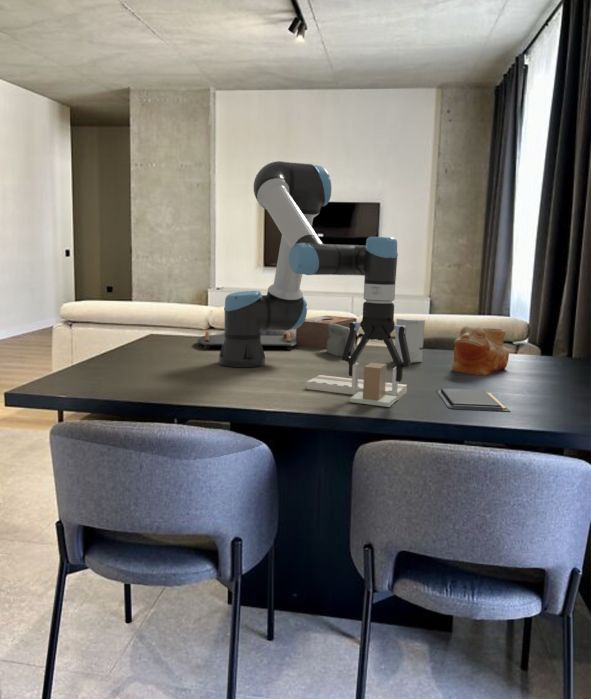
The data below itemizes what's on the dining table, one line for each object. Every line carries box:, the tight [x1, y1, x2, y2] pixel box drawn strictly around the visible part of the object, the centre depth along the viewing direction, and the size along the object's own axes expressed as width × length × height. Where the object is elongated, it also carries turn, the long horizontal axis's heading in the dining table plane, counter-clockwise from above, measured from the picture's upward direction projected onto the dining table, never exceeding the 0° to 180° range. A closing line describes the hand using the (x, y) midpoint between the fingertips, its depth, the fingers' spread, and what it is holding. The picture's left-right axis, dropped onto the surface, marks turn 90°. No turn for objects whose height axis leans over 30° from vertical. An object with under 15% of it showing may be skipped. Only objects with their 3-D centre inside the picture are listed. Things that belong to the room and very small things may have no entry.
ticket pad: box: [305, 374, 408, 401], centre depth 158 cm, size 25×10×2 cm, turn 67°
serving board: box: [196, 329, 297, 351], centre depth 228 cm, size 39×23×6 cm, turn 98°
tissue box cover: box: [295, 315, 357, 349], centre depth 240 cm, size 26×14×10 cm, turn 150°
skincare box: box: [394, 317, 426, 363], centre depth 203 cm, size 8×6×15 cm
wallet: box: [435, 388, 511, 413], centre depth 150 cm, size 20×2×15 cm
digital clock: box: [326, 323, 357, 357], centre depth 215 cm, size 16×9×11 cm, turn 9°
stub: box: [349, 362, 398, 408], centre depth 146 cm, size 10×8×9 cm
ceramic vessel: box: [451, 325, 510, 376], centre depth 191 cm, size 14×26×15 cm, turn 138°
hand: (374, 391), depth 146 cm, fingers open, 9 cm apart
